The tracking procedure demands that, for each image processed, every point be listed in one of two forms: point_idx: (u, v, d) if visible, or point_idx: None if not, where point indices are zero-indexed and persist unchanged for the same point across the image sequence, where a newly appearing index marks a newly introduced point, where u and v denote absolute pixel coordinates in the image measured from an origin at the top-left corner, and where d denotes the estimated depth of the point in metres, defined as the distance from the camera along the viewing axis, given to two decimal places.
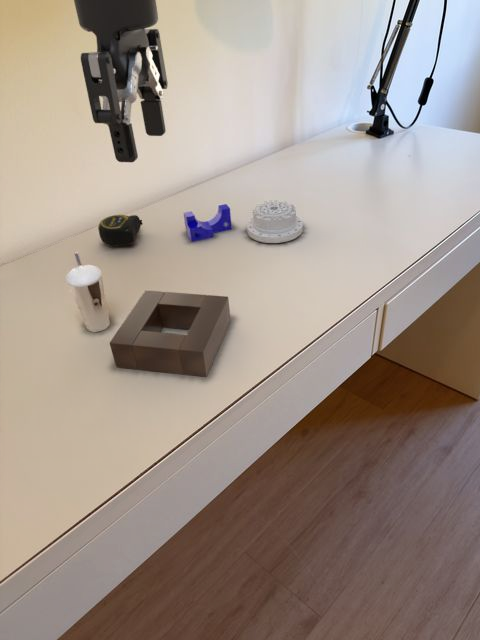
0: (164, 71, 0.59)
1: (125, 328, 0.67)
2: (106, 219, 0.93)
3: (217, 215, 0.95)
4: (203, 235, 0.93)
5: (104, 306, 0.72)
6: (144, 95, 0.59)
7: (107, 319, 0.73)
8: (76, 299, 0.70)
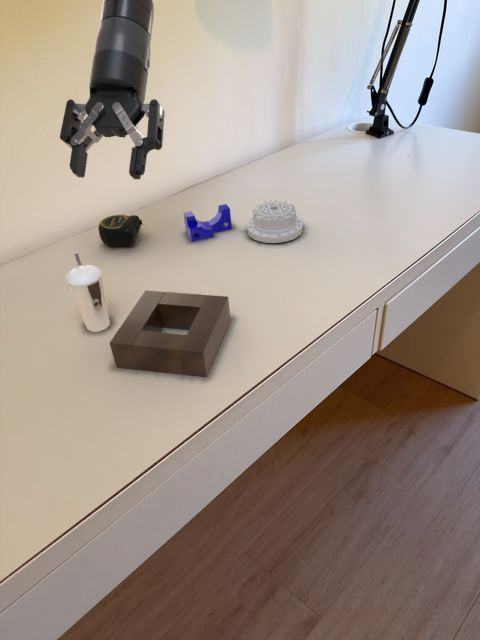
0: (73, 136, 0.75)
1: (125, 328, 0.67)
2: (106, 219, 0.93)
3: (217, 215, 0.95)
4: (203, 235, 0.93)
5: (104, 306, 0.72)
6: (81, 143, 0.73)
7: (107, 319, 0.73)
8: (76, 299, 0.70)
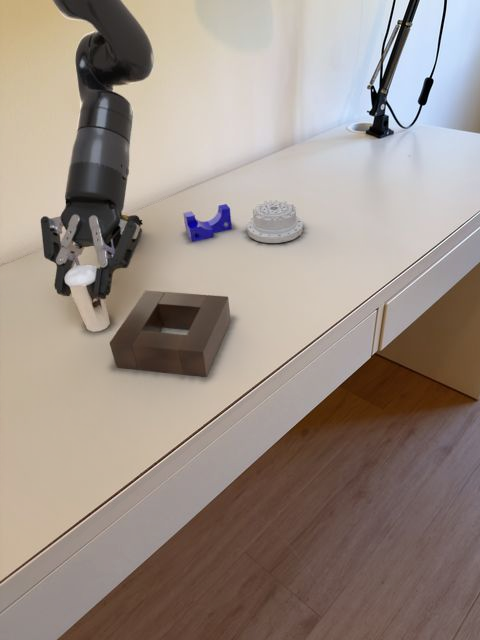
0: None
1: (125, 328, 0.67)
2: None
3: (217, 215, 0.95)
4: (203, 235, 0.93)
5: (103, 306, 0.72)
6: (66, 260, 0.70)
7: (107, 319, 0.73)
8: (75, 299, 0.70)
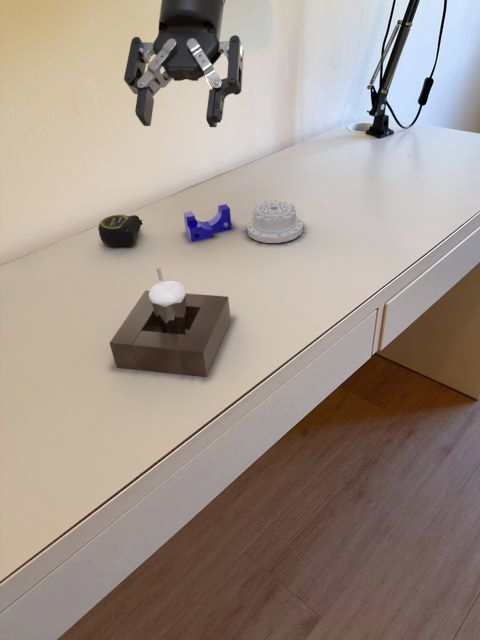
0: None
1: (125, 328, 0.67)
2: (106, 219, 0.93)
3: (217, 215, 0.95)
4: (203, 235, 0.93)
5: (186, 324, 0.68)
6: (148, 86, 0.64)
7: None
8: (159, 317, 0.65)
